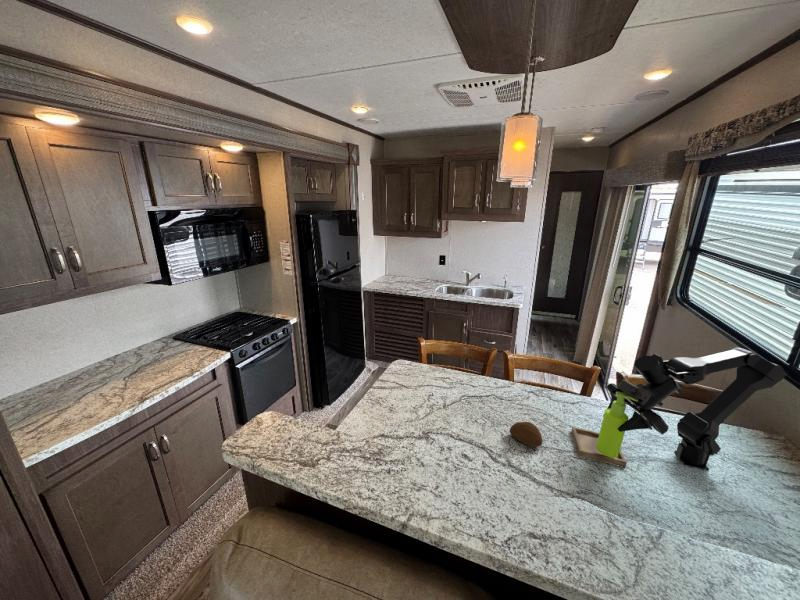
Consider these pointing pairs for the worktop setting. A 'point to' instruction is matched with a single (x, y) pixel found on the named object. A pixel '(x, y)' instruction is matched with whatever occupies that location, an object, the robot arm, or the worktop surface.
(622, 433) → the soap dispenser
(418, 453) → the worktop surface
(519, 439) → the potato
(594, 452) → the tray
